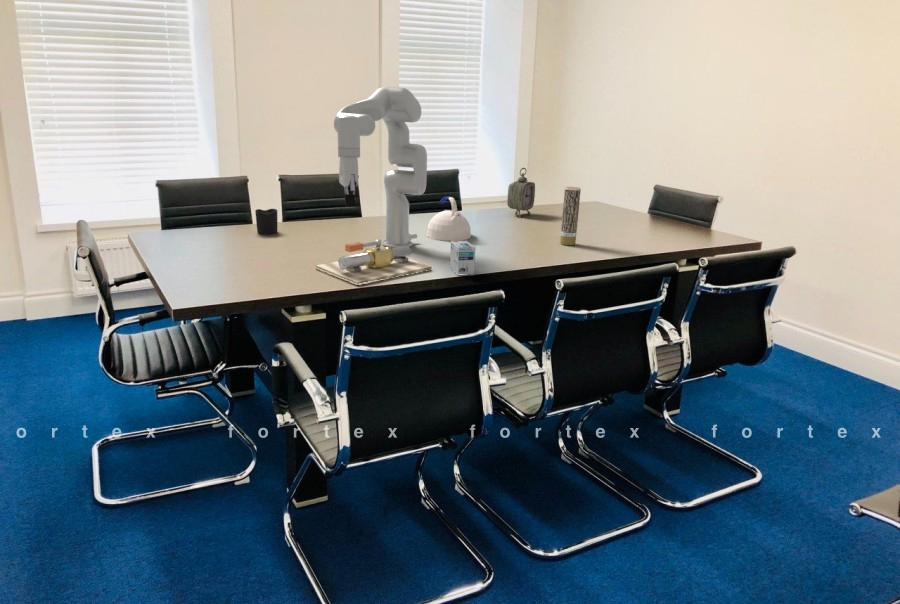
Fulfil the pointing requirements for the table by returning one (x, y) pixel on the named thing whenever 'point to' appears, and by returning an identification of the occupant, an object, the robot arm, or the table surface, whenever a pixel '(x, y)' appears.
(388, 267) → the valve board
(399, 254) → the pipe and valve
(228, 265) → the table surface
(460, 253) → the light bulb box
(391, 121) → the robot arm
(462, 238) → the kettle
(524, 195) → the tabletop clock
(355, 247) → the valve handle
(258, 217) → the pen holder
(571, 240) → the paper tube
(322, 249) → the table surface
